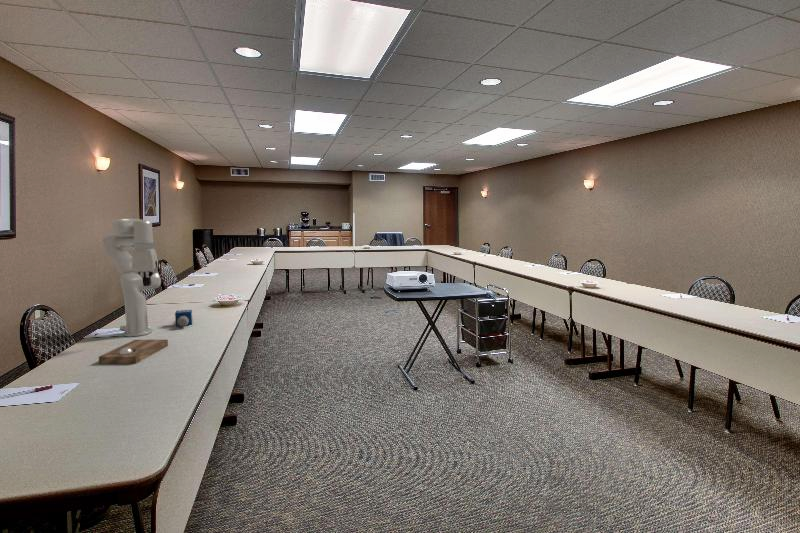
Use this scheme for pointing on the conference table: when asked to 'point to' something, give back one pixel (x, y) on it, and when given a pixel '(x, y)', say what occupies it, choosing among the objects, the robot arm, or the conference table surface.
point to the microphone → (183, 318)
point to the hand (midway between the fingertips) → (147, 285)
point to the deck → (140, 352)
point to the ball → (126, 351)
